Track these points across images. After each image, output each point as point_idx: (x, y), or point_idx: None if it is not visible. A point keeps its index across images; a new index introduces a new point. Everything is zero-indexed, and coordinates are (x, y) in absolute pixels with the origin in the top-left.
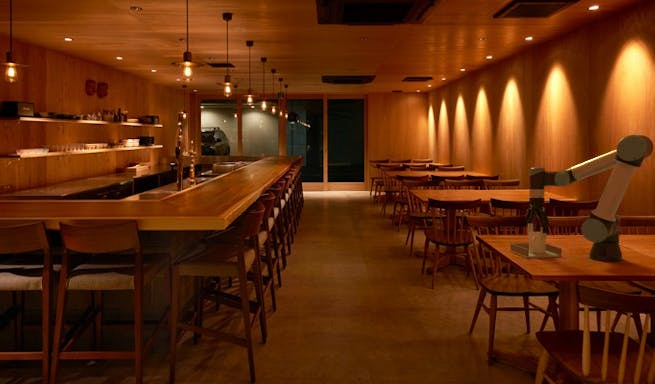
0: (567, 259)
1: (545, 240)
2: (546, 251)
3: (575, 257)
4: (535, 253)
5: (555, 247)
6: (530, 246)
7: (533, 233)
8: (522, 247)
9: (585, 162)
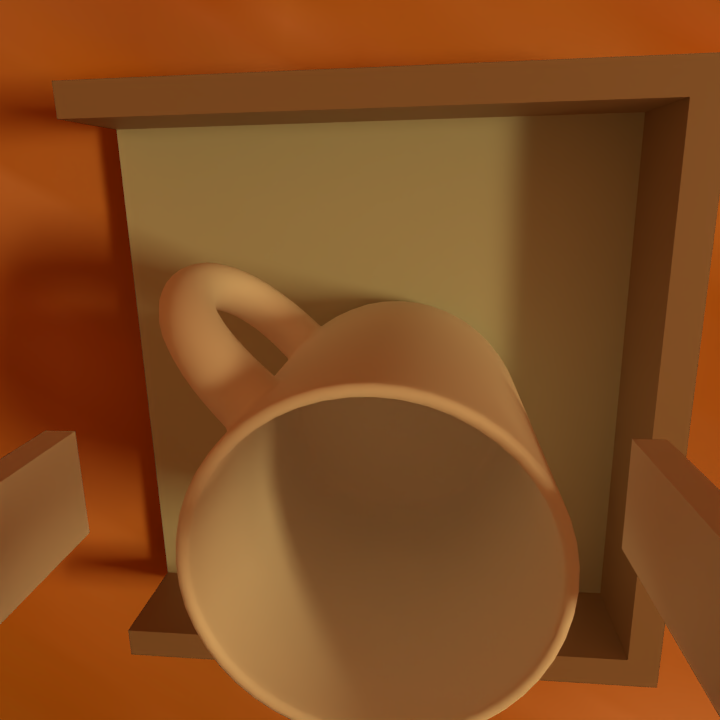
0: (53, 571)
1: (279, 587)
2: None
3: (155, 704)
4: None
5: None
6: (372, 314)
7: (555, 550)
8: (253, 94)
9: None
